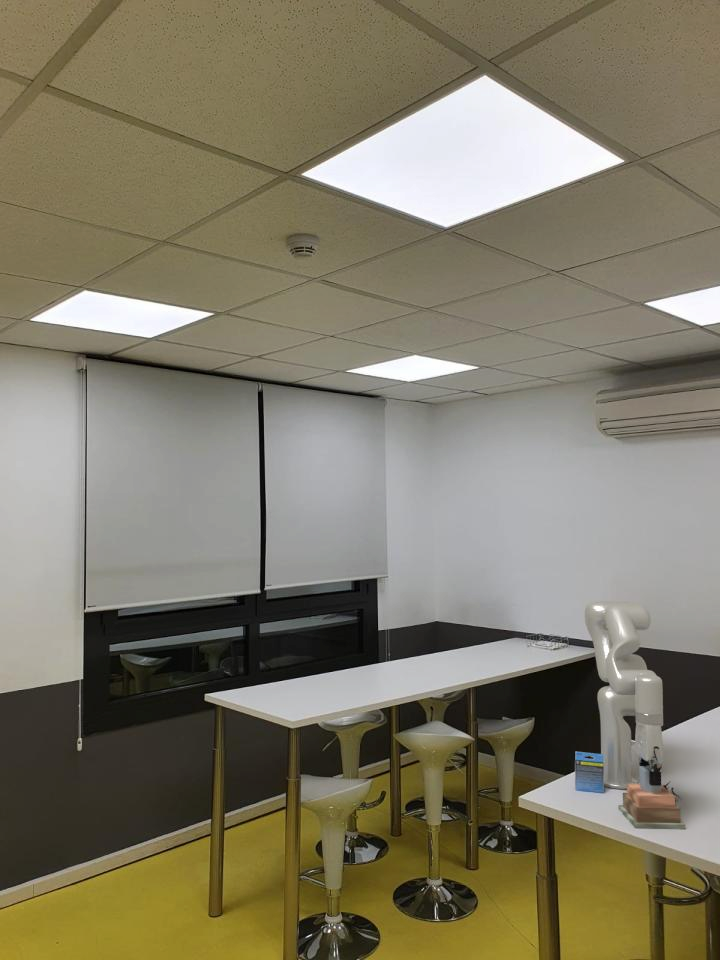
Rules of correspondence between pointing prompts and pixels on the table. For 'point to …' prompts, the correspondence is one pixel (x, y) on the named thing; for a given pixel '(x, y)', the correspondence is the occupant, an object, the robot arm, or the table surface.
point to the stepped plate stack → (651, 809)
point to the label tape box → (589, 772)
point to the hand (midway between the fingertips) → (650, 780)
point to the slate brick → (647, 781)
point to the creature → (671, 789)
